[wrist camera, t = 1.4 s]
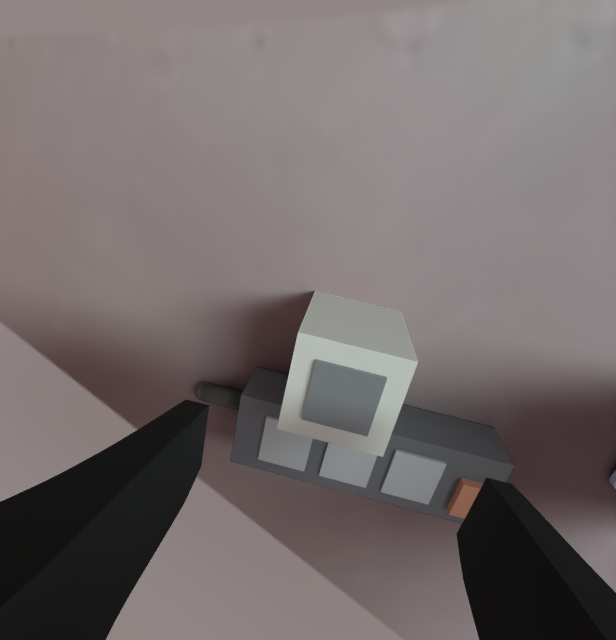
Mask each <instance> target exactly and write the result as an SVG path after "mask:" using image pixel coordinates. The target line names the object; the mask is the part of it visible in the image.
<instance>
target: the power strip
mask: <svg viewBox="0 0 616 640" xmlns="http://www.w3.org/2000/svg"><path fill="white" fill-rule="evenodd" d="M287 380H288V375H286V374H282V373H278V372H274V371H270V370H266V369H263V368H259V367H256V369H255V371H254V373H253V375H252V376H251V378H250V380H249V382H248V384H247V385H246V387H245V389H244V391H243V392H240V391H236V390H232V389H229V388H225V387H221V386H217V385H213V384H209V383H200V384H198V385H197V386H196V388H195V396H196V397H197V398H198V399H200V400H203V401H206V402H210V403H214V404H218V405H222V406H226V407H229V408H233V409H237V410H239V411H238V417H237V423H236V429H235V435H234V441H233V447H232V453H231V459H230V461H231V462H234V463H238V464H242V465H246V466H249V467H253V468H257V469H261V470H264V471H268V472H272V473H276V474H279V475H283V476H287V477H291V478H294V479H298V480H302V481H305V482H309V483H313V484H317V485H320V486H324V487H328V488H332V489H335V490H339V491H343V492H347V493H350V494H354V495H358V496H362V497H365V498H369V499H373V500H376V501H380V502H384V503H388V504H391V505H395V506H399V507H403V508H406V509H410V510H414V511H418V512H421V513H425V514H429V515H433V516H436V517H440V518H444V519H447V520H451V521H455V522H459V523H463V521H464V519H465V517H466V515H467V514H468V512H469V510H470V508H471V506H472V504H473V502H474V500H475V498H476V496H477V494H478V493H479V491H480V489H481V487H482V485H483V483H484V481H485V479H486V477H487V478H491V479H495V480H499V481H503V482H506V481H507V479H508V477H509V476H510V474H511V472H512V470H513V468H514V467H515V465H514V463H513V462H512V460H511V458H510V456H509V454H508V453H507V451H506V449H505V447H504V445H503V444H502V442H501V440H500V438H499V436H498V435H497V433H496V431H495V429H494V428H493V427H490V426H486V425H482V424H478V423H475V422H471V421H467V420H463V419H459V418H455V417H451V416H447V415H443V414H439V413H435V412H431V411H427V410H423V409H420V408H416V407H412V406H408V405H404V404H402V407H401V410H400V412H399V415H398V418H397V421H396V423H395V426H394V429H393V431H392V434H391V437H390V439H389V442H388V445H387V447H386V450H385V453H384V456H383V457H381V456H378V455H374V454H370V453H366V452H362V451H359V450H355V449H351V448H347V447H343V446H340V445H336V444H332V443H328V442H324V441H321V440H317V439H313V438H309V437H305V436H302V435H298V434H294V433H290V432H286V431H283V430H279V429H277V425H278V421H279V416H280V412H281V407H282V403H283V398H284V394H285V389H286V385H287Z"/></svg>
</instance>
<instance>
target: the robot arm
mask: <svg viewBox="0 0 616 640" xmlns="http://www.w3.org/2000/svg"><path fill="white" fill-rule="evenodd" d="M208 409H209V405H205V404H201V403H197V402H193V401H190V400H185V401H183V402H181V403H180V404H178V405H177V406H175V407H173V408H172V409H170V410H169V411H167V412H165V413H164V414H162V415H161V416H159V417H158V418H156V419H154V420H153V421H151V422H150V423H148V424H146V425H145V426H143V427H142V428H140V429H138V430H137V431H135V432H134V433H132V434H130V435H129V436H127V437H125V438H124V439H122V440H120V441H118V442H117V443H115V444H113V445H112V446H110V447H108V448H107V449H105V450H103V451H101V452H100V453H98V454H96V455H94V456H92V457H90V458H89V459H87V460H85V461H83V462H81V463H79V464H78V465H76V466H74V467H72V468H70V469H68V470H66V471H65V472H63V473H61V474H59V475H57V476H55V477H53V478H51V479H49V480H47V481H45V482H43V483H40V484H38V485H36V486H34V487H32V488H30V489H28V490H25V491H23V492H21V493H19V494H17V495H15V496H12V497H10V498H8V499H6V500H4V501H1V502H0V640H106V638H107V636H108V634H109V632H110V630H111V628H112V626H113V624H114V622H115V620H116V618H117V616H118V615H119V613H120V611H121V609H122V607H123V606H124V603H125V602H126V600H127V598H128V597H129V595H130V593H131V591H132V590H133V588H134V586H135V585H136V583H137V581H138V580H139V578H140V577H141V575H142V573H143V571H144V570H145V568H146V567H147V565H148V563H149V561H150V560H151V558H152V557H153V555H154V553H155V552H156V550H157V548H158V547H159V545H160V543H161V541H162V540H163V538H164V537H165V535H166V533H167V531H168V530H169V528H170V526H171V525H172V523H173V521H174V520H175V518H176V516H177V514H178V513H179V511H180V509H181V508H182V506H183V504H184V502H185V500H186V498H187V496H188V494H189V492H190V489H191V487H192V485H193V483H194V481H195V479H196V476H197V474H198V472H199V470H200V467H201V463H202V455H203V447H204V440H205V432H206V424H207V417H208ZM610 483H611V484H612V486H613V487H614V488H615V489H616V470H615V471H614V473H613V474H612V476H611V478H610ZM457 540H458V547H459V555H460V562H461V568H462V574H463V580H464V584H465V588H466V592H467V595H468V599H469V603H470V607H471V610H472V614H473V618H474V622H475V625H476V629H477V633H478V636H479V640H616V593H615V592H614V591H613V590H612V589H611V588H610V587H609V586H608V585H607V584H606V583H605V581H604V580H603V579H602V578H601V577H600V576H599V575H598V574H597V573H596V572H595V571H594V570H593V569H592V568H591V567H590V566H589V565H588V564H587V563H586V562H585V561H584V560H583V558H582V557H581V556H580V555H579V554H578V553H577V552H576V551H575V550H574V549H573V548H572V547H571V546H570V545H569V544H568V543H567V541H566V540H565V539H564V538H563V537H562V536H561V535H560V534H559V533H558V532H557V531H556V530H555V529H554V528H553V526H552V525H551V524H550V523H549V522H548V521H547V520H546V519H545V518H544V517H543V516H542V515H541V514H540V513H539V512H538V510H537V509H536V508H535V507H534V506H533V505H532V504H531V503H530V502H529V501H528V500H527V499H526V498H525V497H524V496H523V495H522V494H521V493H520V492H519V491H518V490H517V489H516V488H515V487H514V486H513V485H512V484H510V483H507V482H503V481H499V480H495V479H491V478H487V477H486V479H485V481H484V483H483V485H482V487H481V489H480V491H479V493H478V494H477V496H476V498H475V500H474V502H473V504H472V506H471V508H470V510H469V512H468V514H467V515H466V517H465V519H464V521H463V523H462V525H461V527H460V529H459V531H458V533H457Z"/></svg>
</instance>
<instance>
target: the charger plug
mask: <svg viewBox="0 0 616 640" xmlns="http://www.w3.org/2000/svg"><path fill="white" fill-rule="evenodd" d="M417 364H418V360H417V357H416V354H415V351H414V348H413V345H412V342H411V339H410V336H409V333H408V330H407V327H406V324H405V321H404V318H403V315H402V312H401V311H397V310H393V309H389V308H385V307H381V306H376V305H372V304H368V303H364V302H360V301H356V300H352V299H348V298H344V297H339V296H335V295H331V294H327V293H323V292H319V291H315V292H314V294H313V297H312V299H311V302H310V304H309V307H308V309H307V311H306V314H305V316H304V319H303V321H302V324H301V326H300V329H299V331H298V335H297V339H296V344H295V348H294V353H293V357H292V362H291V366H290V371H289V375H288V380H287V385H286V389H285V394H284V398H283V403H282V407H281V412H280V416H279V421H278V425H277V429H279V430H283V431H286V432H290V433H294V434H298V435H302V436H305V437H309V438H313V439H317V440H321V441H324V442H328V443H332V444H336V445H340V446H343V447H347V448H351V449H355V450H359V451H362V452H366V453H370V454H374V455H378V456H381V457H383V456H384V453H385V450H386V447H387V445H388V442H389V439H390V437H391V434H392V431H393V429H394V426H395V423H396V421H397V418H398V415H399V412H400V410H401V407H402V404H403V402H404V399H405V396H406V394H407V391H408V388H409V386H410V383H411V380H412V377H413V375H414V372H415V369H416V367H417Z"/></svg>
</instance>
